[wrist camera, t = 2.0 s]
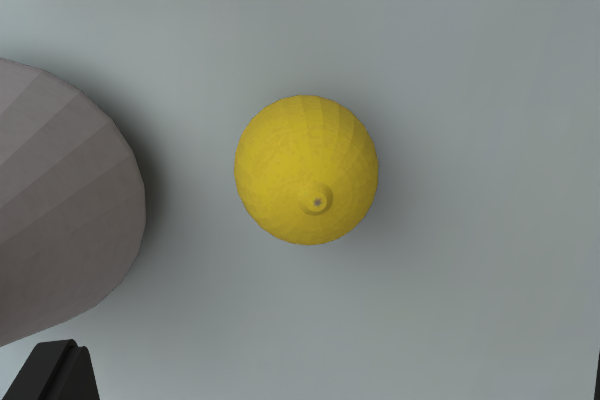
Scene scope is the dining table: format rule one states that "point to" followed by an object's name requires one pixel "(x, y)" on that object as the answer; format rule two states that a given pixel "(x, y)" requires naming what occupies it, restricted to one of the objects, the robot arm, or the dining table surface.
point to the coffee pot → (61, 202)
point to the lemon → (306, 170)
